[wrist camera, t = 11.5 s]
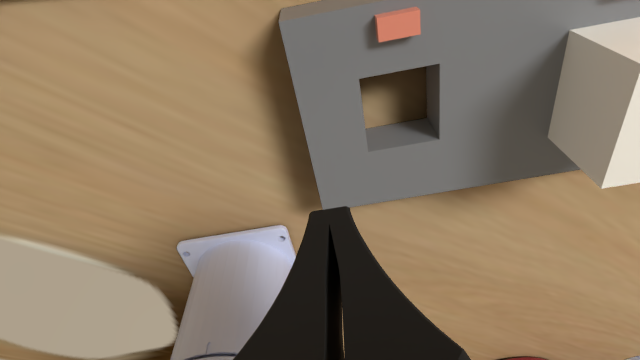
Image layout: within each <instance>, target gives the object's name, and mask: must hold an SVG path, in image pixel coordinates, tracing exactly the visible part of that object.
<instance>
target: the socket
mask: <svg viewBox="0 0 640 360" xmlns="http://www.w3.org/2000/svg"><path fill="white" fill-rule="evenodd" d="M637 17H640V0H321V1H317V2H312V3H307V4H302V5H297V6H293V7H288V8H283V9H281V12H280V17H279V26H280V30H281V35H282V39H283V43H284V47H285V51H286V56H287V60H288V64H289V68H290V73H291V77H292V81H293V85H294V89H295V94H296V98H297V102H298V106H299V111H300V115H301V119H302V123H303V128H304V132H305V136H306V140H307V144H308V149H309V153H310V157H311V161H312V166H313V170H314V174H315V178H316V183H317V187H318V191H319V195H320V199H321V204H322V208H323V210H325V209H331V208H337V207H343V206H347V207H355V206H361V205H367V204H373V203H379V202H385V201H391V200H397V199H404V198H410V197H416V196H422V195H428V194H434V193H440V192H446V191H452V190H458V189H464V188H471V187H477V186H483V185H489V184H495V183H501V182H507V181H513V180H519V179H525V178H531V177H538V176H544V175H550V174H556V173H562V172H568V171H574V170H580V168H579V167H578V166H577V165H576V164H575V163H574V162H573V161H572V160H571V159H570V158H569V157H568V156H567V155H566V154H565V153H563V152H562V151H561V150H560V149H559V148H558V147H557V146H556V145H555V144H554V143H553V142H552V141H551V140H550V139H549V138H548V133H549V128H550V123H551V118H552V113H553V109H554V104H555V99H556V94H557V89H558V84H559V79H560V75H561V70H562V65H563V60H564V55H565V50H566V45H567V41H568V36H569V31H570V30H573V29H578V28H583V27H589V26H594V25H599V24H605V23H610V22H615V21H621V20H626V19H632V18H637ZM424 66H426V91H427V118H424V119H418V120H413V121H407V122H401V123H396V124H390V125H385V126H379V127H374V128H368V129H365V122H364V115H363V107H362V99H361V91H360V83H359V79H361V78H366V77H372V76H377V75H382V74H387V73H393V72H398V71H403V70H408V69H414V68H419V67H424Z"/></svg>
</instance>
